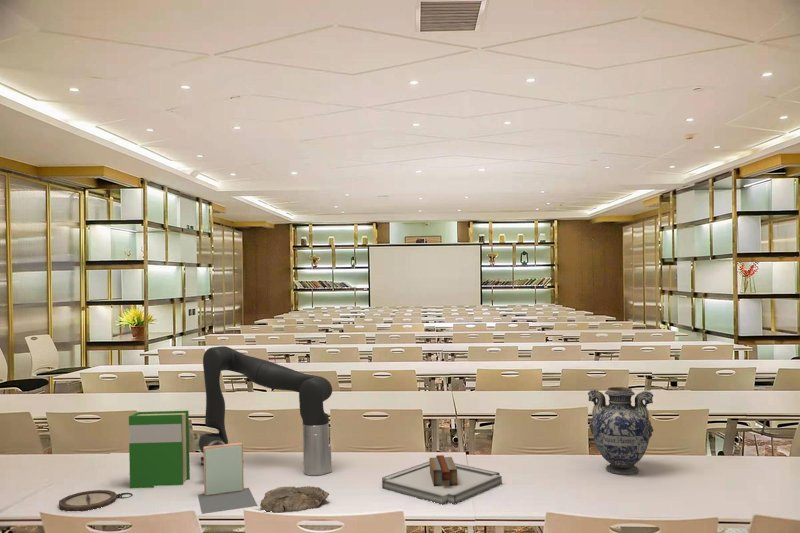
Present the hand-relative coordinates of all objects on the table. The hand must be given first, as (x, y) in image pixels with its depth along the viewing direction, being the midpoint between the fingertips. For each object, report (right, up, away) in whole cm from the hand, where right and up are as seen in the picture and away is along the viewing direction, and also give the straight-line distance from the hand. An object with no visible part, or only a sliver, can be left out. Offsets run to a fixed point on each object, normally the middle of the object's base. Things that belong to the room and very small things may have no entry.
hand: (222, 465), depth 213 cm
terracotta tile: (+2, -7, -4) cm, 9 cm away
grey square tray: (+72, -7, 0) cm, 72 cm away
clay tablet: (+27, -7, -16) cm, 32 cm away
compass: (-38, -10, -9) cm, 40 cm away
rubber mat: (+5, -8, -12) cm, 15 cm away
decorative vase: (+134, -5, +10) cm, 135 cm away
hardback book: (-23, -9, +8) cm, 26 cm away
